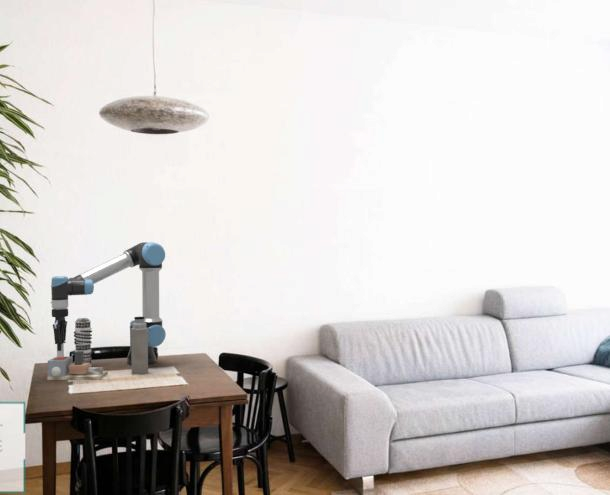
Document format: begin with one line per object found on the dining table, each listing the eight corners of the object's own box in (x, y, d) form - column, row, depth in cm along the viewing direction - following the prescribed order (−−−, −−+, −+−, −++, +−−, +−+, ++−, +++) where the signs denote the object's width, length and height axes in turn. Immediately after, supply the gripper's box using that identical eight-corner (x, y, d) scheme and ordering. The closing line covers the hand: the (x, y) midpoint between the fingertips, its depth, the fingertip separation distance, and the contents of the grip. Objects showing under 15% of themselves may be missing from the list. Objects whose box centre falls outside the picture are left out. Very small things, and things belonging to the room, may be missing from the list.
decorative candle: (95, 364, 345) (95, 317, 345) (87, 368, 336) (87, 319, 335) (78, 364, 346) (78, 317, 346) (70, 367, 337) (70, 319, 336)
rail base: (107, 374, 320) (107, 365, 320) (100, 379, 308) (100, 370, 308) (56, 374, 320) (56, 365, 320) (47, 380, 308) (47, 370, 308)
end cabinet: (72, 374, 319) (72, 356, 319) (64, 379, 308) (64, 361, 308) (56, 374, 319) (56, 356, 319) (47, 380, 308) (47, 361, 308)
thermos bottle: (137, 370, 328) (137, 315, 328) (151, 371, 326) (150, 316, 325) (128, 374, 321) (127, 317, 320) (142, 375, 318) (141, 318, 318)
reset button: (67, 363, 316) (67, 356, 316) (63, 365, 311) (63, 358, 311) (57, 363, 316) (57, 356, 316) (53, 365, 311) (53, 358, 311)
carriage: (89, 371, 318) (89, 350, 317) (85, 374, 311) (85, 353, 310) (73, 371, 317) (73, 350, 317) (68, 374, 310) (68, 353, 310)
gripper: (57, 306, 320) (57, 354, 320) (46, 309, 307) (47, 359, 307) (72, 306, 320) (72, 354, 320) (62, 309, 307) (63, 359, 307)
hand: (60, 357), depth 314 cm, fingers closed
